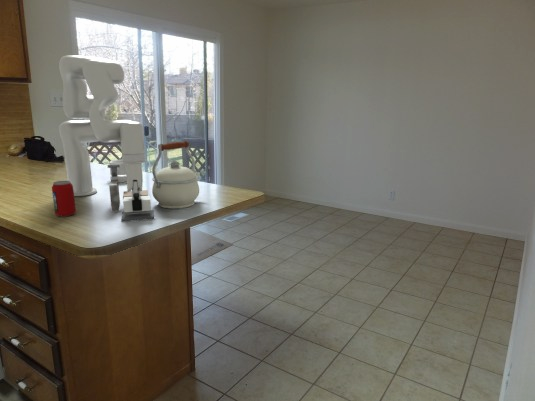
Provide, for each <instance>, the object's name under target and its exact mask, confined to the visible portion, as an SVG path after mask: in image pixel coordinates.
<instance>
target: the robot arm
mask: <svg viewBox="0 0 535 401" xmlns="http://www.w3.org/2000/svg"><path fill="white" fill-rule="evenodd" d="M58 69H59V73H60V76H61V80H62V83H63V91H62V92H63V96H62V97H63V98H62V100H63V102H62V105H63V113H64V115H65V116H66V117H67V118H69V119H73V120H65V121H63V122H61V124H59V126H58V133H59V137H60V139H61V142H62V146H63V154H64V160H65V167H66V168H65V170H66V175H67V181H70V183H71V184H72V185H73V190H74V197H85V196H92V195H94V194H96V193H97V191H98V190H97V188H95V187H93V178H92V177H93V176H92V169H91V160H90V153H89V150H88V149H87V148H86V147H85V146H84V145H83V144H84V143H85V144H86V143H95V142H96V143H97V142H101V143H104V144H105V143H106V144H107V143H118V142H120V147H121V160H122V162H123V163H124V164H126V178H127V182H126V189H127V190H126V191H128V192H130V191H132V209H133V211H142V200H141V191H142V190H143V182H144V181H143V180H144V179H143V164H144V163H146V154H145V151H146V150H145V138H144V127H143V123H141V122H140V121H133V120H130V119H113V120H111V119H109V120H107V119H106V108H108V107H110V106H111V105H113V104H114V103H116V102H117V100H118V99H119V93H118V91H117V88H116V87H115V86H116V85H120V84H122V83H123V82H124V80H125V71H124V69H123V67H122V65H121V64H120V63H119V61H116V60H112V59H109V58H106V57H105V58H104V57H96V56H85V55H73V54H70V55H69V54H68V55H64V56H61V58H60V60H59V64H58ZM88 88H89V92H90V93H91V95H90V94H89V95H88V94H87V92H88ZM75 119H76V120H75ZM85 119H86V120H85Z"/></svg>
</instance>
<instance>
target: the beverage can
mask: <svg viewBox="0 0 535 401" xmlns="http://www.w3.org/2000/svg"><path fill="white" fill-rule="evenodd" d="M51 191H52V201H53V208H54V214H55V215H56V216H58V217H69V216H73V215H74V214H75V213H76V212H77V209H76V200H75V196H74V190H73V185H72V184H71V183H70V181H68V180H59V181H58V180H57V181H54V182H53V183H52V186H51Z"/></svg>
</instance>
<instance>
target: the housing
mask: <svg viewBox="0 0 535 401" xmlns="http://www.w3.org/2000/svg"><path fill="white" fill-rule="evenodd" d="M119 185H120V184H119V182H118V180H111V179H110V183H109V185H108V187H109V188H108V189H109V197H110V198H109V199H110V208H111V209H110V210H111V212H119V211H120V205H121V200H120V189H119V188H120V186H119ZM122 193H123V195H122V200H123V199H124V197H132V190H131V191H130V192H128V191H127V190H125V191H123V192H122ZM141 196H149V190H148V189H146V190H143V189H142V191H141Z"/></svg>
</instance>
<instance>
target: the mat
mask: <svg viewBox="0 0 535 401" xmlns="http://www.w3.org/2000/svg"><path fill="white" fill-rule="evenodd" d="M120 220H121V221H120V222H133V221H145V220H155V211H154V209H151V211H138V212H124V211H122V213H121V218H120Z"/></svg>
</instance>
